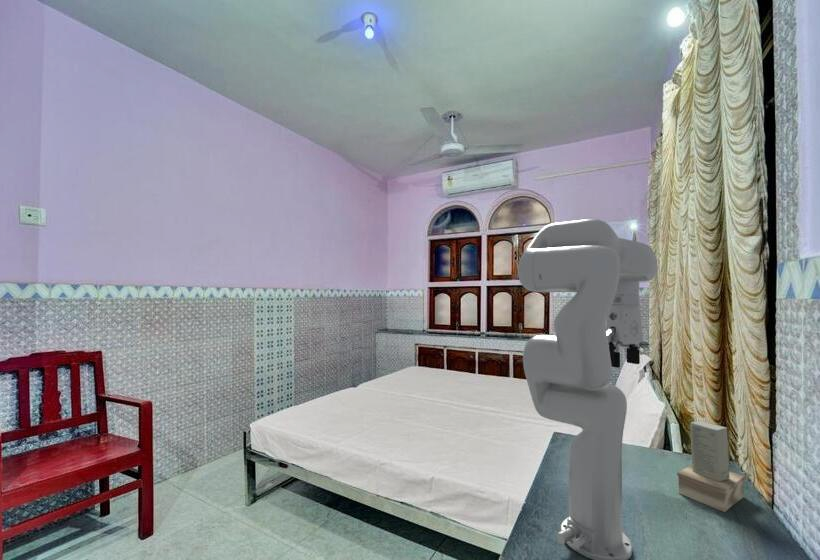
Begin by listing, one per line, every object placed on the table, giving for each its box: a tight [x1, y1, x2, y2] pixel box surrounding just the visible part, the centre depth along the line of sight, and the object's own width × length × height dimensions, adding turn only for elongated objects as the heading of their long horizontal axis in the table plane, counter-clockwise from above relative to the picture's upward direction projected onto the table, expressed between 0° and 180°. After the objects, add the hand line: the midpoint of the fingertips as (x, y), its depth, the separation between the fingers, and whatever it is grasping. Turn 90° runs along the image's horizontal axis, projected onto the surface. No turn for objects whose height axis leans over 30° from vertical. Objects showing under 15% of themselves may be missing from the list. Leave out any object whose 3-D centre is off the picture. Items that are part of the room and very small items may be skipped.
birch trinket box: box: [676, 464, 746, 513], centre depth 90 cm, size 12×9×5 cm
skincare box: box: [689, 419, 730, 481], centre depth 90 cm, size 6×4×12 cm
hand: (623, 365), depth 98 cm, fingers open, 9 cm apart
